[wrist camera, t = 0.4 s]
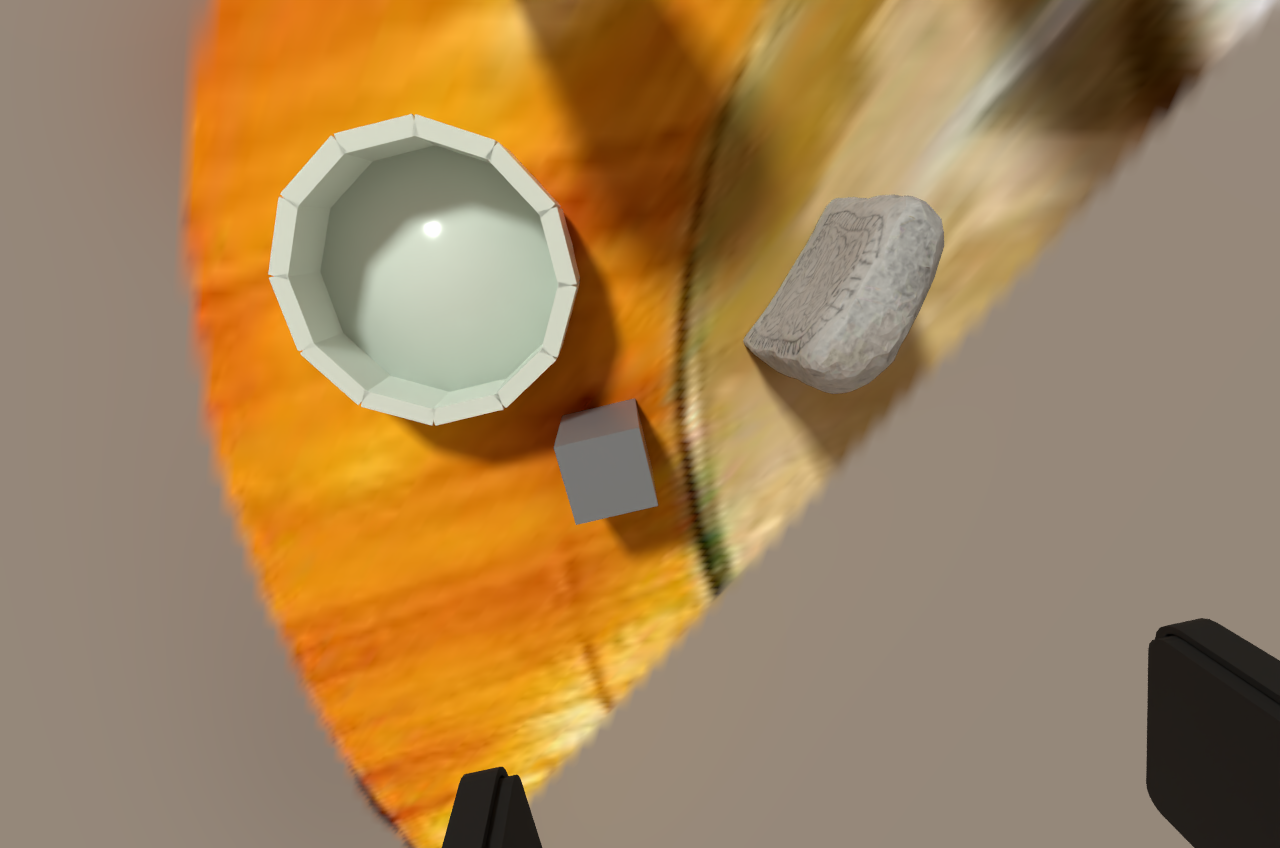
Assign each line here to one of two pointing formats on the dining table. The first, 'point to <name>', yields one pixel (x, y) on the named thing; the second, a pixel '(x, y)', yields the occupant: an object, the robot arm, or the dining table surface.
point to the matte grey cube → (605, 462)
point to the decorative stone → (851, 292)
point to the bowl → (423, 269)
